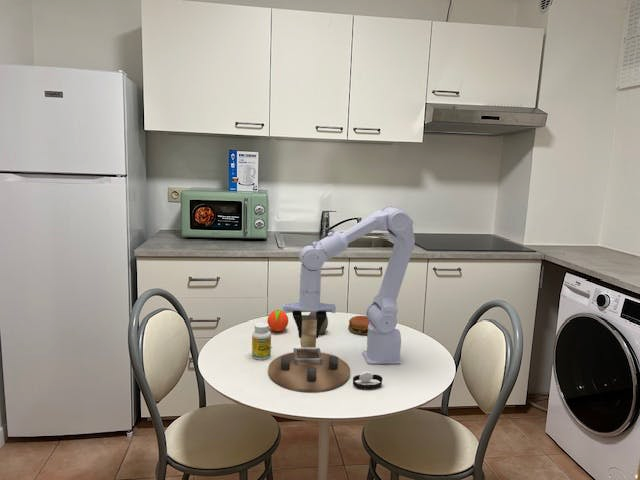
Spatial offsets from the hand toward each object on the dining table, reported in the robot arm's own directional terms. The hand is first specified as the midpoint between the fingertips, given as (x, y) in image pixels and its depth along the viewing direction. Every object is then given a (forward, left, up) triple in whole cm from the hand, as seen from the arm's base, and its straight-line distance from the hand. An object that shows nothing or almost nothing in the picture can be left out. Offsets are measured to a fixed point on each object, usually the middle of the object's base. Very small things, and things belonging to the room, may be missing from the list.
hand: (308, 336), depth 130 cm
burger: (-21, -24, -8) cm, 32 cm away
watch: (-14, +14, -8) cm, 22 cm away
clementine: (+8, -23, -8) cm, 26 cm away
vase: (-5, -22, -8) cm, 24 cm away
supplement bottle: (+13, -4, -8) cm, 16 cm away
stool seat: (0, +6, -8) cm, 10 cm away
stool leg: (0, 0, -2) cm, 2 cm away
